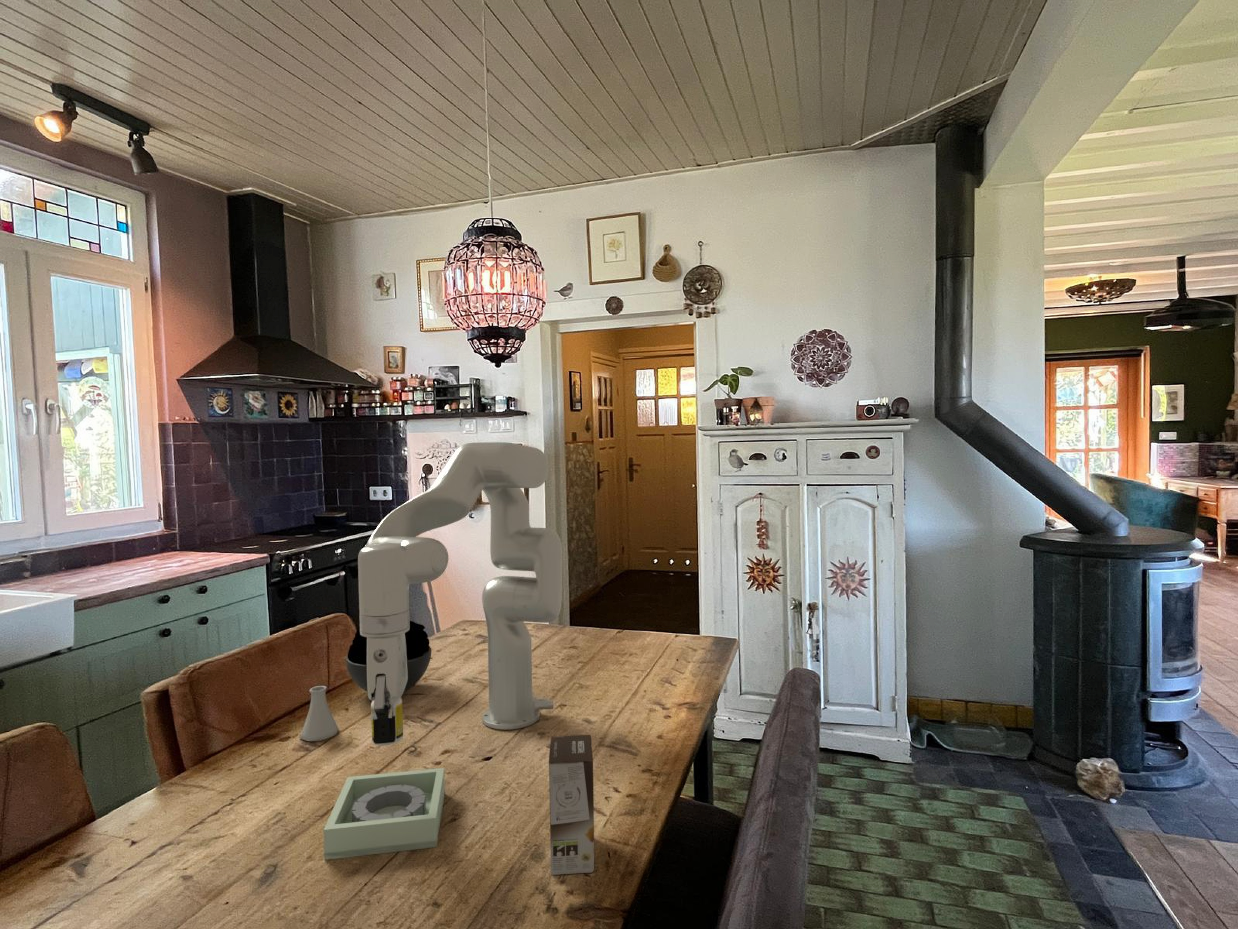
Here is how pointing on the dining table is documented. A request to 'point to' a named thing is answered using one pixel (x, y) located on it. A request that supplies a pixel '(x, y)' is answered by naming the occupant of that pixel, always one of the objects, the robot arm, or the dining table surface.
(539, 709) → the robot arm
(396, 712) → the supplement bottle
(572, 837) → the coffee box
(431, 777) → the socket box
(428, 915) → the dining table surface
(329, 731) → the flask
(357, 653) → the bowl of black rocks
